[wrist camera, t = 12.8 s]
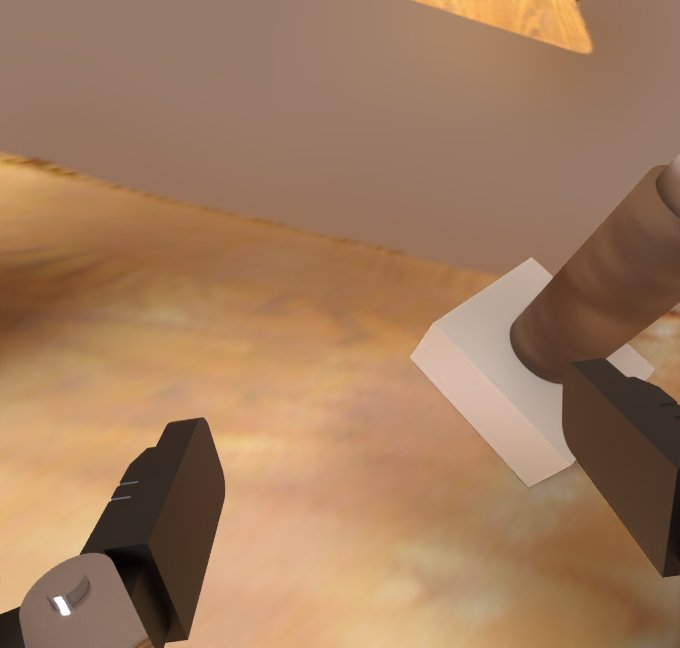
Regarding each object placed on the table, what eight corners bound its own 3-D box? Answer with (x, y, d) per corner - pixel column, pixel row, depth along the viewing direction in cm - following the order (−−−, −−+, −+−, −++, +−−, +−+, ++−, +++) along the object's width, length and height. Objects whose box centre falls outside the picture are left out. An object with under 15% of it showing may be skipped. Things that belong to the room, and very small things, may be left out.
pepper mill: (493, 335, 28) (660, 145, 18) (539, 301, 31) (708, 117, 20) (558, 399, 27) (780, 231, 16) (600, 358, 29) (817, 190, 19)
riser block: (409, 357, 31) (433, 322, 28) (502, 293, 36) (531, 257, 33) (528, 488, 28) (571, 465, 25) (611, 397, 33) (656, 368, 30)
